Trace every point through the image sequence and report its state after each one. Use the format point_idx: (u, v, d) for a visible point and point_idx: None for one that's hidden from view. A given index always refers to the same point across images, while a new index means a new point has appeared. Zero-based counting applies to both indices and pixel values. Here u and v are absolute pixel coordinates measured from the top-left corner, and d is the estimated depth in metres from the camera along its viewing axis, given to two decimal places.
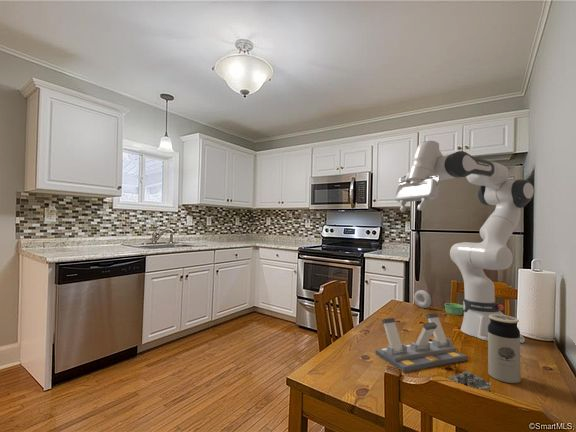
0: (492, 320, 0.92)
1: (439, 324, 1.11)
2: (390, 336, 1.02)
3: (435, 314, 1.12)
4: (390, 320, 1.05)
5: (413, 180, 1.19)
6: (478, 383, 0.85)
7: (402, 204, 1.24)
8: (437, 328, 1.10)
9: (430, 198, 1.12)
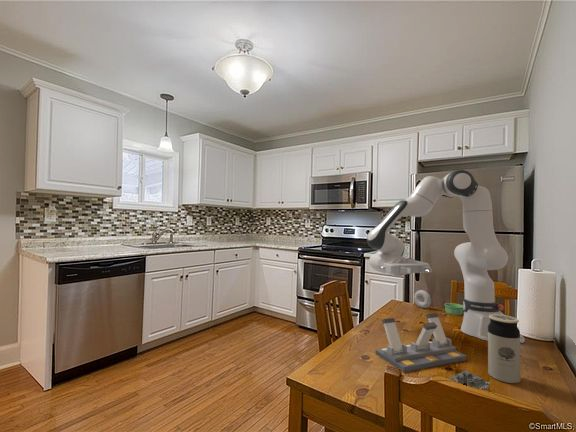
0: (492, 320, 0.92)
1: (439, 324, 1.11)
2: (390, 336, 1.02)
3: (435, 314, 1.12)
4: (390, 320, 1.05)
5: (399, 273, 1.29)
6: (477, 382, 0.85)
7: None
8: (437, 328, 1.10)
9: (396, 268, 1.20)
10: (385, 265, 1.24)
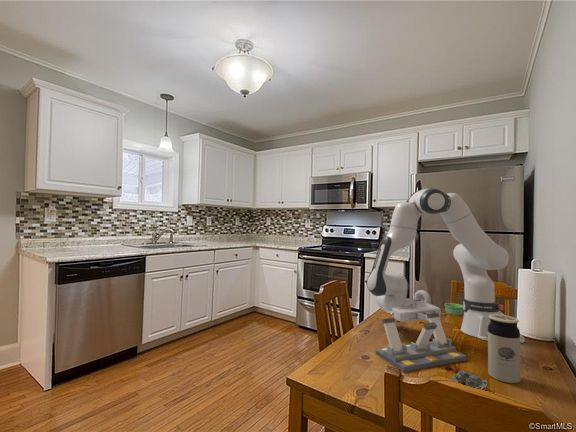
0: (492, 320, 0.92)
1: (440, 324, 1.11)
2: (390, 336, 1.02)
3: (436, 314, 1.12)
4: (390, 320, 1.05)
5: None
6: (474, 381, 0.85)
7: None
8: (437, 328, 1.10)
9: (406, 315, 1.14)
10: (394, 311, 1.18)
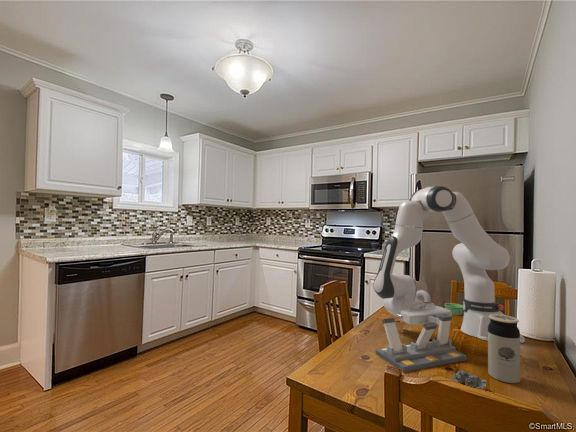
0: (492, 320, 0.92)
1: (448, 327, 1.07)
2: (390, 336, 1.02)
3: (449, 318, 1.07)
4: (390, 320, 1.05)
5: None
6: (473, 381, 0.85)
7: None
8: (444, 331, 1.07)
9: (416, 318, 1.09)
10: (403, 314, 1.13)
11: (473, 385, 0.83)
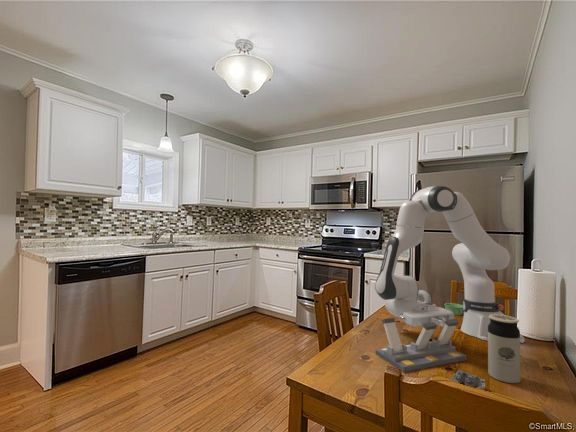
0: (492, 320, 0.92)
1: (452, 330, 1.06)
2: (390, 336, 1.02)
3: (456, 323, 1.04)
4: (390, 320, 1.05)
5: None
6: (472, 381, 0.86)
7: None
8: (447, 334, 1.06)
9: (418, 320, 1.08)
10: (405, 315, 1.12)
11: (473, 385, 0.83)
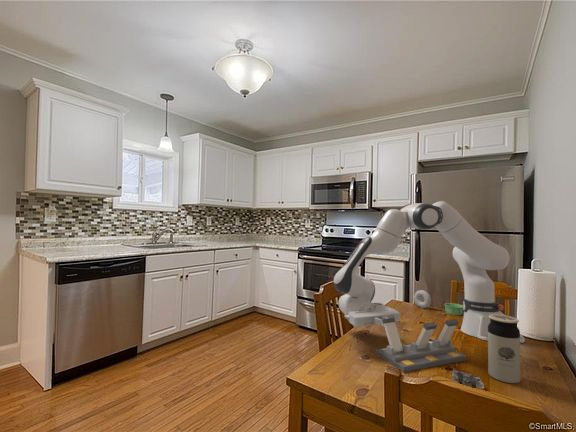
0: (492, 320, 0.92)
1: (452, 330, 1.06)
2: (390, 336, 1.02)
3: (456, 323, 1.04)
4: (390, 320, 1.05)
5: None
6: None
7: None
8: (447, 334, 1.06)
9: (361, 320, 1.08)
10: (349, 315, 1.12)
11: (471, 384, 0.83)
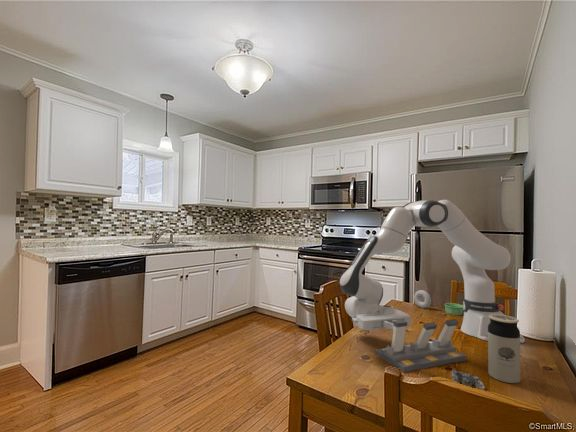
0: (492, 320, 0.92)
1: (452, 330, 1.06)
2: (396, 339, 1.00)
3: (456, 323, 1.04)
4: (402, 325, 0.99)
5: None
6: None
7: None
8: (447, 334, 1.06)
9: (369, 324, 1.03)
10: (357, 318, 1.06)
11: (471, 384, 0.84)
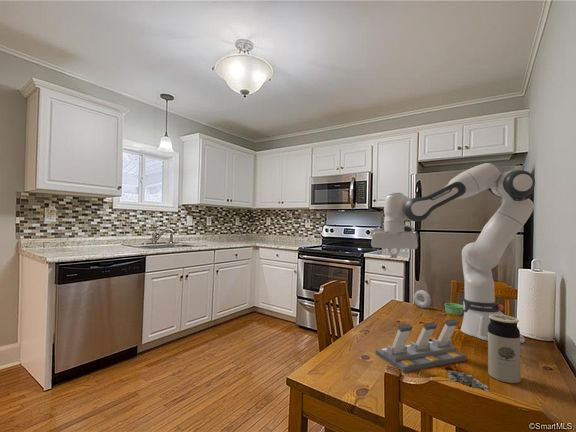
0: (492, 320, 0.92)
1: (452, 330, 1.06)
2: (398, 341, 0.99)
3: (456, 323, 1.04)
4: (406, 329, 0.97)
5: None
6: None
7: (397, 252, 1.38)
8: (447, 334, 1.06)
9: None
10: (372, 237, 1.40)
11: (469, 383, 0.84)
